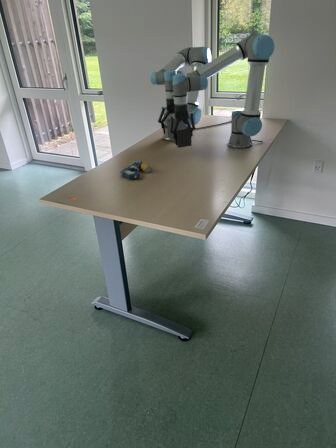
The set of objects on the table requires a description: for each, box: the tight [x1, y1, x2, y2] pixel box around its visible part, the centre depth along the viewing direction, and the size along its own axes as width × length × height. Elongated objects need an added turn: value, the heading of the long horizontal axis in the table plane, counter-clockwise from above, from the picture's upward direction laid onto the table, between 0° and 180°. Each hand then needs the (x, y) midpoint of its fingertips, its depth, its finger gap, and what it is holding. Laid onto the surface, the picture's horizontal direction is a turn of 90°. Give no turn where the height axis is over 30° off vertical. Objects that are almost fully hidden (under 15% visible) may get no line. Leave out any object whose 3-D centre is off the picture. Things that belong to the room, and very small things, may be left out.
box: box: [167, 118, 192, 149], centre depth 209 cm, size 28×8×10 cm, turn 14°
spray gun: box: [119, 160, 152, 180], centre depth 195 cm, size 21×4×15 cm
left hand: (174, 131), depth 219 cm, fingers open, 13 cm apart
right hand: (183, 142), depth 202 cm, fingers closed on box, 8 cm apart
